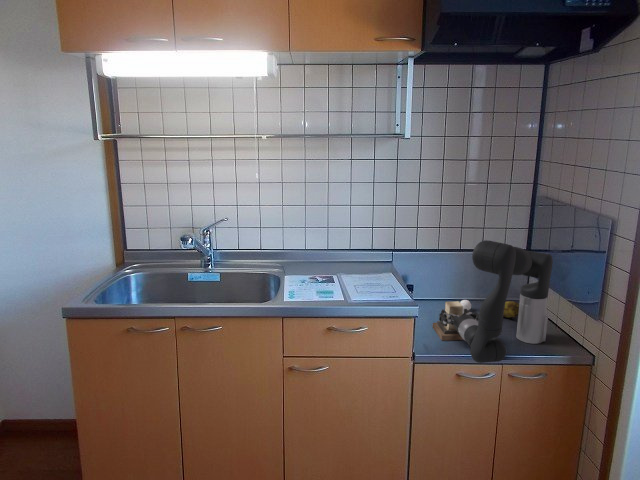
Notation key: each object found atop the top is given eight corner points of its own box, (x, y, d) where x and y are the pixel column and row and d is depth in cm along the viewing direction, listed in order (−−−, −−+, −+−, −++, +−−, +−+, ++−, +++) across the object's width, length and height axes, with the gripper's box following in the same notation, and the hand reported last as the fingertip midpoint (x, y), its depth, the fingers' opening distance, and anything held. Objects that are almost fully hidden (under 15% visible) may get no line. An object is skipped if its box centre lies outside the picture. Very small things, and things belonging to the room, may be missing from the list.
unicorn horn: (432, 324, 196) (433, 313, 194) (461, 308, 212) (462, 298, 211) (443, 328, 192) (444, 316, 191) (471, 311, 209) (472, 300, 208)
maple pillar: (456, 325, 189) (458, 301, 187) (461, 331, 184) (462, 306, 182) (444, 326, 189) (445, 301, 186) (448, 331, 184) (449, 306, 182)
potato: (503, 310, 208) (505, 293, 207) (524, 322, 197) (526, 303, 195) (487, 313, 206) (488, 295, 204) (507, 325, 194) (508, 306, 192)
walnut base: (462, 326, 193) (462, 318, 192) (473, 339, 181) (474, 331, 181) (432, 327, 192) (432, 319, 192) (441, 340, 181) (442, 332, 180)
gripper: (490, 318, 169) (472, 301, 184) (449, 319, 168) (435, 302, 183) (488, 338, 170) (471, 320, 186) (448, 339, 169) (434, 321, 185)
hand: (453, 311), depth 185 cm, fingers open, 8 cm apart
